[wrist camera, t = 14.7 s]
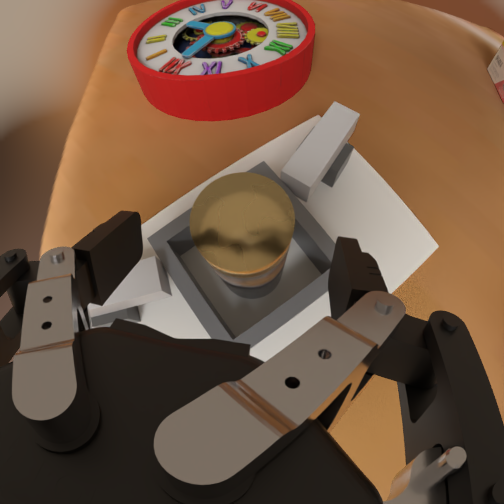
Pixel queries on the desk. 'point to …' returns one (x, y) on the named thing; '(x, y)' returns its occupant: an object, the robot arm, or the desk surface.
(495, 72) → the ink cartridge box
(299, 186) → the shaft rig
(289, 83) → the toy clock
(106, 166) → the desk surface
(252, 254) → the gold lidded jar
